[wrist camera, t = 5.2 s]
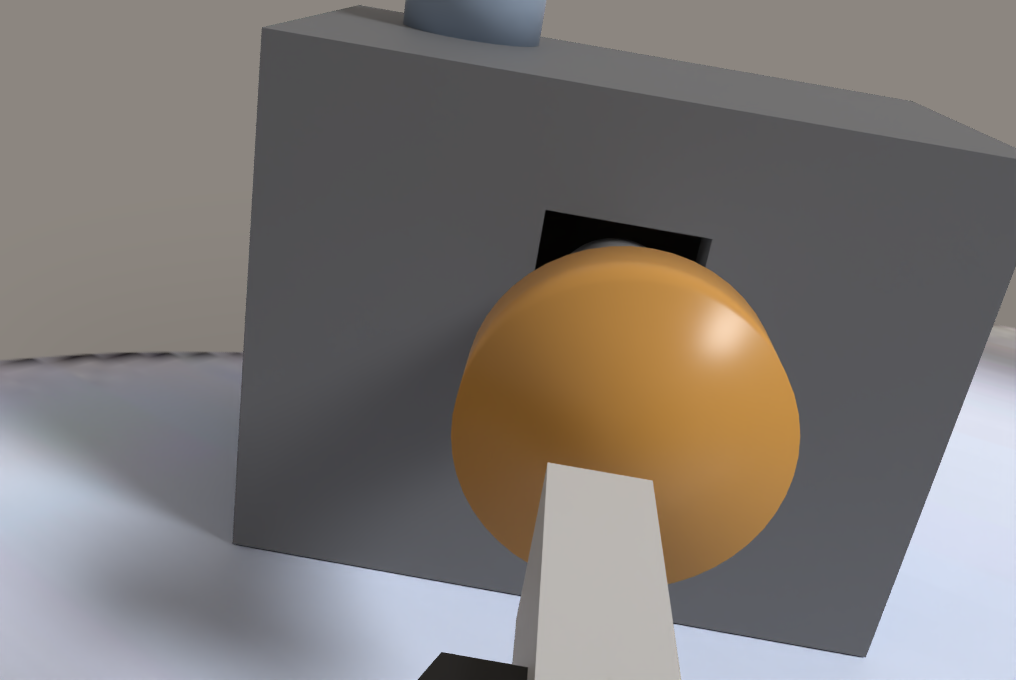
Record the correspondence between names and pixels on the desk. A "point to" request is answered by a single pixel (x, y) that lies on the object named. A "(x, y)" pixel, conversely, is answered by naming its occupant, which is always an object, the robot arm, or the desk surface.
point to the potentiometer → (479, 20)
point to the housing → (561, 230)
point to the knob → (628, 400)
